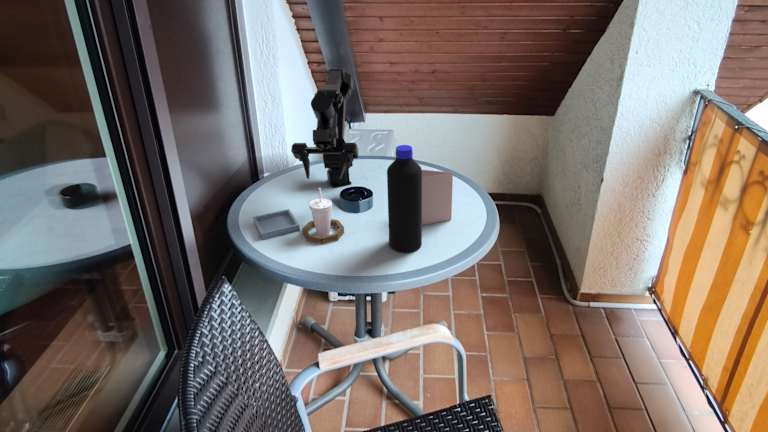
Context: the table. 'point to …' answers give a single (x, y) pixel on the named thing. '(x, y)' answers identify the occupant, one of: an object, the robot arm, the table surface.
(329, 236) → the collar
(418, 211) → the bottle
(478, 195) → the table surface
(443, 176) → the greeting card
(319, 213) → the smoothie
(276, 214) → the tray
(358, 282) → the table surface
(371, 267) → the table surface
